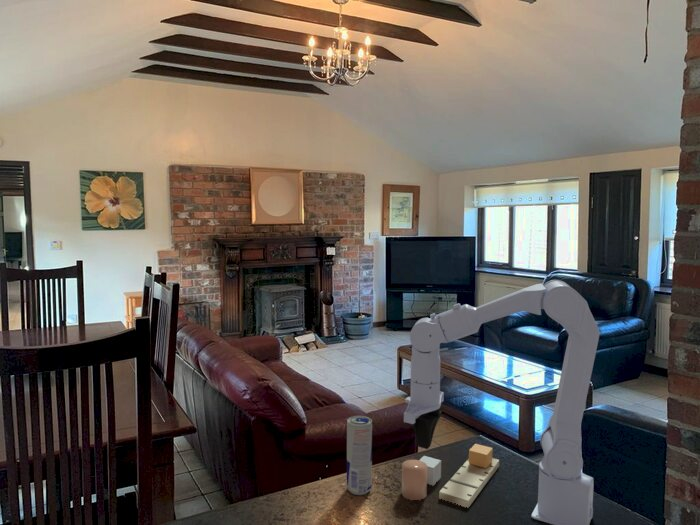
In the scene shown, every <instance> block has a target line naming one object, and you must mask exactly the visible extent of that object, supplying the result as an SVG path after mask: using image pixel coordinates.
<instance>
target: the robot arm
mask: <svg viewBox="0 0 700 525" xmlns="http://www.w3.org/2000/svg"><path fill="white" fill-rule="evenodd" d="M452 307H453V308H451V309H448V310H446V311H443V312H441V313H438V314H436V312H433V313H431V314H430V315H429V317H430V318H429V317H422V318H420V319H418V320H417V321H416V322H415V324H414V325H413V327H412V328H411V330H410V332H409V341H410V344H411V345H412V347H411V356H410V396H407V397H406V398H405V399H404V402H405V403H407V407H406V410H405V411H403V423H407V424H410V425H411V426H412V428H413V431H414V435H415V439H416V443H417V446H418V448H421V449H425V450H428V449H429V448H430V447H431V445H432V441H433V437H434V433H435V430H436V426H437V424H438V422H439V420H440V418H441V416H442V410H441V409H440V408H441V406H442V403H443V402H444V401H445V400H444V399H445V398H444V397H445V396H444V395H445V392H444V391H441V356H440V348H441V347H440V346H441V343H442V344H448V343H451V342H454V341H456V340H457V341H458V340H459V339H462V338H465V337H468V336H471V335H473V334H476V333H479V330H480V327H481V326H482V324H485V323H488V322H491V321H496V320H497V319H502V318H504V317H505V318H506V317H507V316H512V315H515V314H517V313H521V312H526V313H528V314H529V313H530V314H534V315H537V316H542V310H544V312H545V314H546V315H547V316H548V318H549V317H550V319H552V320H553V321H555V322H556V323H558V324H559V325H561V326H562V328H563V329H564V330H565V332H567V334H568V338H567V342H566V348H565V353H564V356H563V362H562V368H561V373H560V379H559V382H558V388H557V393H556V398H555V403H554V409H553V413H552V415H550V418H549V422H548V425H547V426H546V428H545V429H544V430H543V432H542V433H541V434H540V439H539V442H540V443H539V444H540V447H541V449H542V450H543V454H544V456H543V457H542V458H541V460H540V461H539V466H538V467H539V468H538V487H537V488H538V489H537V490H538V491H537V492H538V493H537V495H538V496H537V503H536V505H535V507H534V509H533V511H532V513H531V515H530V516H531V518H532V519H534V520H537V521H540V522H544V523H547V524H550V525H590V523H591V520H592V519H593V516H594V506H593V503H594V502H593V501H594V480H595V479H594V477H592V476H590V475H587V474H585V473H584V472H582V469H583V467H584V459H583V457H582V452H581V448H582V447H581V446H582V429H581V428H582V427H581V426H582V422H583V421H582V420H583V418H584V411H585V407H586V402H587V397H588V393H589V392H588V391H589V388H590V384H591V378H592V373H593V368H594V364H595V363H594V362H595V359H596V354H597V348H598V344H599V339H600V328H599V326H598V324H597V322H596V319H595V318H594V316H593V314H592V312H591V309H590V307H589V304H588V301H587V300H586V299H585V298H584V297H583V296H582V295H581V294H580V293H579V292H578V291H577V290H576V289H575V288H573V287H572V286H570V285H569V284H568V283H566V282H565V281H562V280H561V279H551V280H549V281H546V282H545V283H537V284H533V285H530V286H527V287H524V288H521V289H519V290H516V291H514V292H511V293H509V294H507V295H504V296H501V297H499V298H495V299H494V300H492V301H489V302H487V303H484V304H481V305H478V306H477V307H476V306H472V305H470V304H467V303H465V304H462V305H461V303H459V302H458V303H455V304H453V306H452Z"/></svg>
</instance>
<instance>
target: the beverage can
mask: <svg viewBox="0 0 700 525" xmlns="http://www.w3.org/2000/svg"><path fill="white" fill-rule="evenodd" d="M346 421H347V424H346V489H347V490H348V491H349V492H350V493H351V494H353V495H356V496H365V495H367V493H369V492H370V491H372V484H373V483H372V482H373V481H372V476H373V475H372V474H373V470H372V469H373V467H372V466H373V419H372V418H370V417H368V416H366V415H365V416H364V415H354V416H353V415H352V416H350V417H348V418H347V420H346Z"/></svg>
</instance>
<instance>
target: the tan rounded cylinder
mask: <svg viewBox="0 0 700 525" xmlns="http://www.w3.org/2000/svg"><path fill="white" fill-rule="evenodd" d="M419 460H420V459H419ZM419 460H418V459H407V460H405V461H403V462H402V464H401V496H402V497H403V498H404V499H406V500H408V499H409V501H413V500H419V501H422V500H421V499H423V500H424V499H426V498H425V497H427V492H428V491H427V490H428V488H427V487H428V484H427V465H426V463H424V462H422V461H419Z"/></svg>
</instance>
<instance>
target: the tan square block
mask: <svg viewBox="0 0 700 525" xmlns="http://www.w3.org/2000/svg"><path fill="white" fill-rule="evenodd" d="M493 453H494V452H493V447H491V446H486V445H482V444H478V443H475V444H474V445H472V447H470V448H469V450H468V459H469V464H473V465H476V466H480V467H484V468H487V467H488V466H489V465H490V463H491V462H492V458H493Z"/></svg>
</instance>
